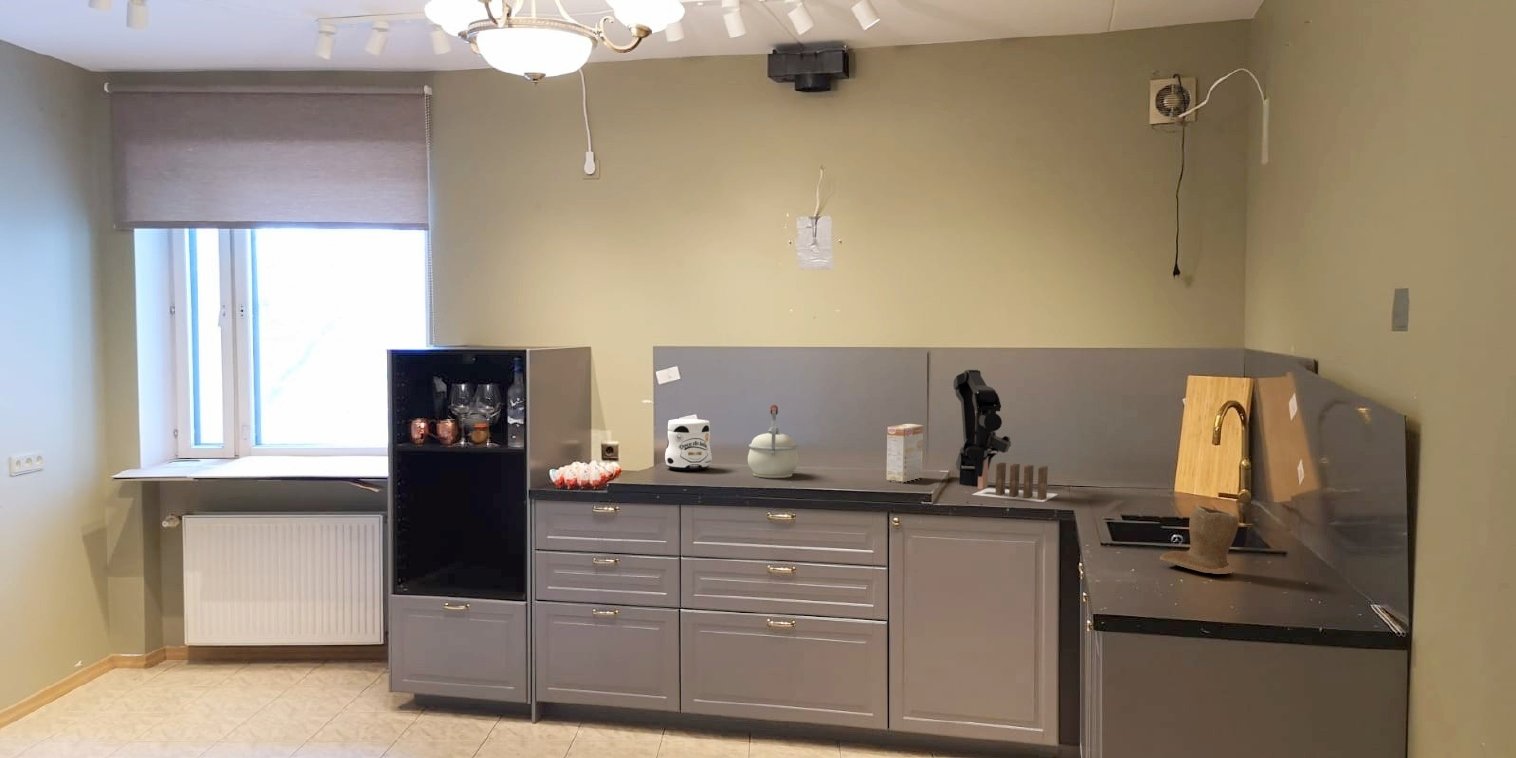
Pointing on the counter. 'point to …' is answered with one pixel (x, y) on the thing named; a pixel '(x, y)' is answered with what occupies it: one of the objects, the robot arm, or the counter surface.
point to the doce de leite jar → (688, 444)
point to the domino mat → (992, 492)
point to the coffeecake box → (904, 452)
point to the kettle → (773, 453)
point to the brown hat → (1207, 539)
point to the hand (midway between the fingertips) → (982, 475)
